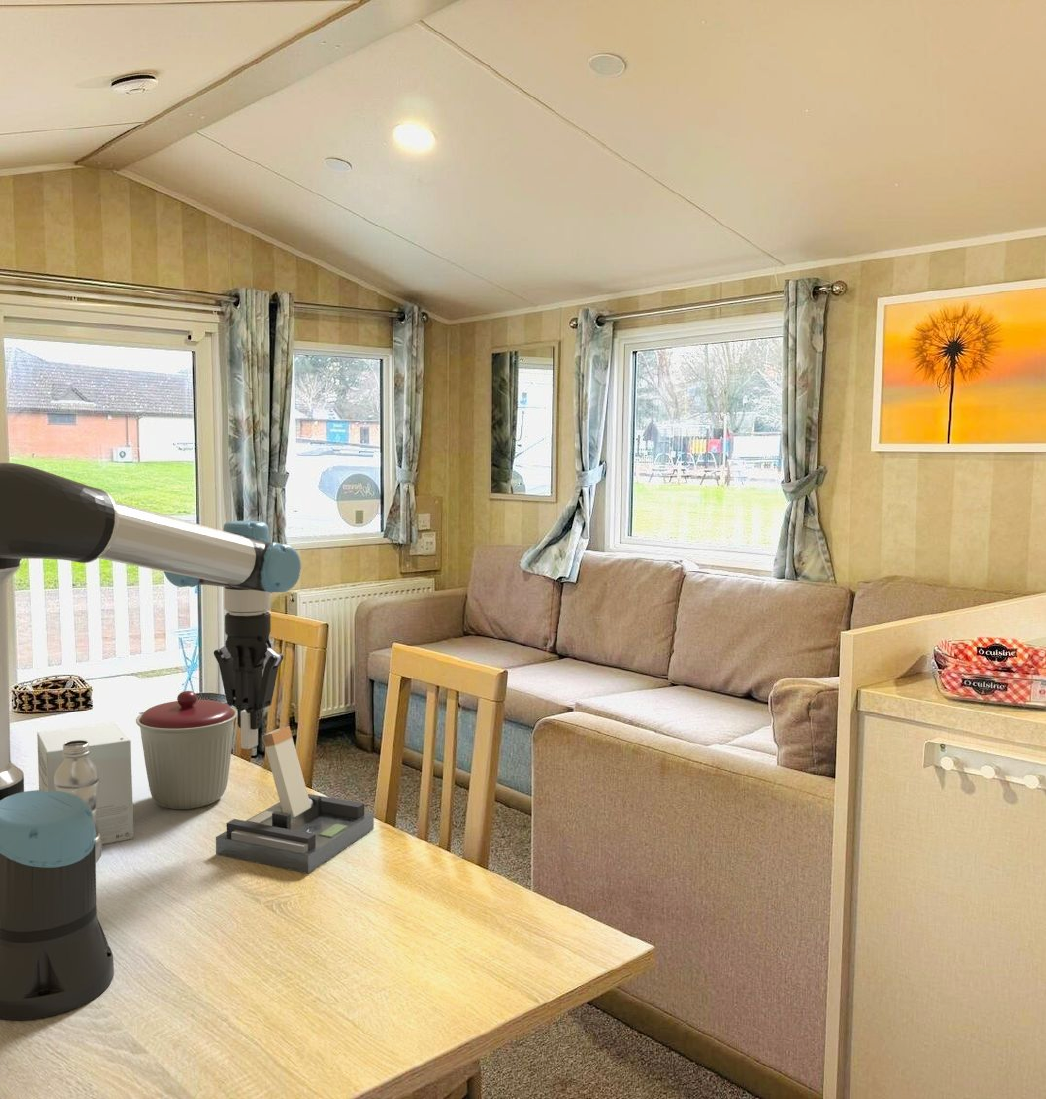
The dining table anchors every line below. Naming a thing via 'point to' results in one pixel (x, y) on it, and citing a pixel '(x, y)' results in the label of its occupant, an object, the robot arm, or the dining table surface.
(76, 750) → the plastic bottle
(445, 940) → the dining table surface
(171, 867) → the dining table surface
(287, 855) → the panel
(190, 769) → the canister
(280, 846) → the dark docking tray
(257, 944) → the dining table surface
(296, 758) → the lever
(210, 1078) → the dining table surface
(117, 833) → the supplement box
